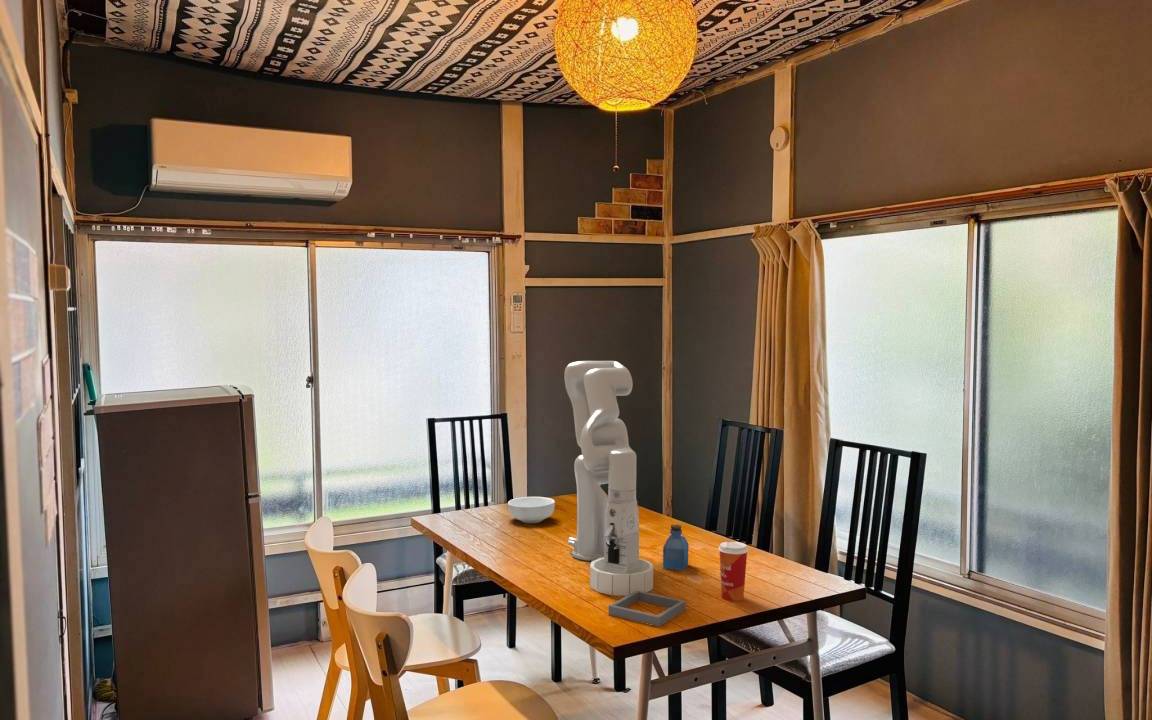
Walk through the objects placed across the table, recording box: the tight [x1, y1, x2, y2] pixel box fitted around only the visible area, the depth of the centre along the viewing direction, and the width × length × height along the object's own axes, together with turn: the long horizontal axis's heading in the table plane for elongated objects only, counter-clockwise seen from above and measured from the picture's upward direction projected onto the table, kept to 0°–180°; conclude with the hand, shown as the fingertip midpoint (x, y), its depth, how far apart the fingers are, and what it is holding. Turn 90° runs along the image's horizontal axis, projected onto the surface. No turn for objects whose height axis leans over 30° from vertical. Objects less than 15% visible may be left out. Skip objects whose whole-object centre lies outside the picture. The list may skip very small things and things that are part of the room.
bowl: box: [589, 557, 654, 597], centre depth 226 cm, size 17×17×6 cm
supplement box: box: [604, 531, 640, 574], centre depth 226 cm, size 7×7×13 cm
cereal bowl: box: [507, 496, 556, 524], centre depth 297 cm, size 17×17×7 cm
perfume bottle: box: [662, 524, 689, 571], centre depth 243 cm, size 6×6×12 cm
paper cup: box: [718, 541, 749, 602], centre depth 216 cm, size 8×8×14 cm
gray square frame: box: [608, 590, 687, 627], centre depth 205 cm, size 14×14×2 cm
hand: (621, 558), depth 226 cm, fingers closed on supplement box, 7 cm apart
